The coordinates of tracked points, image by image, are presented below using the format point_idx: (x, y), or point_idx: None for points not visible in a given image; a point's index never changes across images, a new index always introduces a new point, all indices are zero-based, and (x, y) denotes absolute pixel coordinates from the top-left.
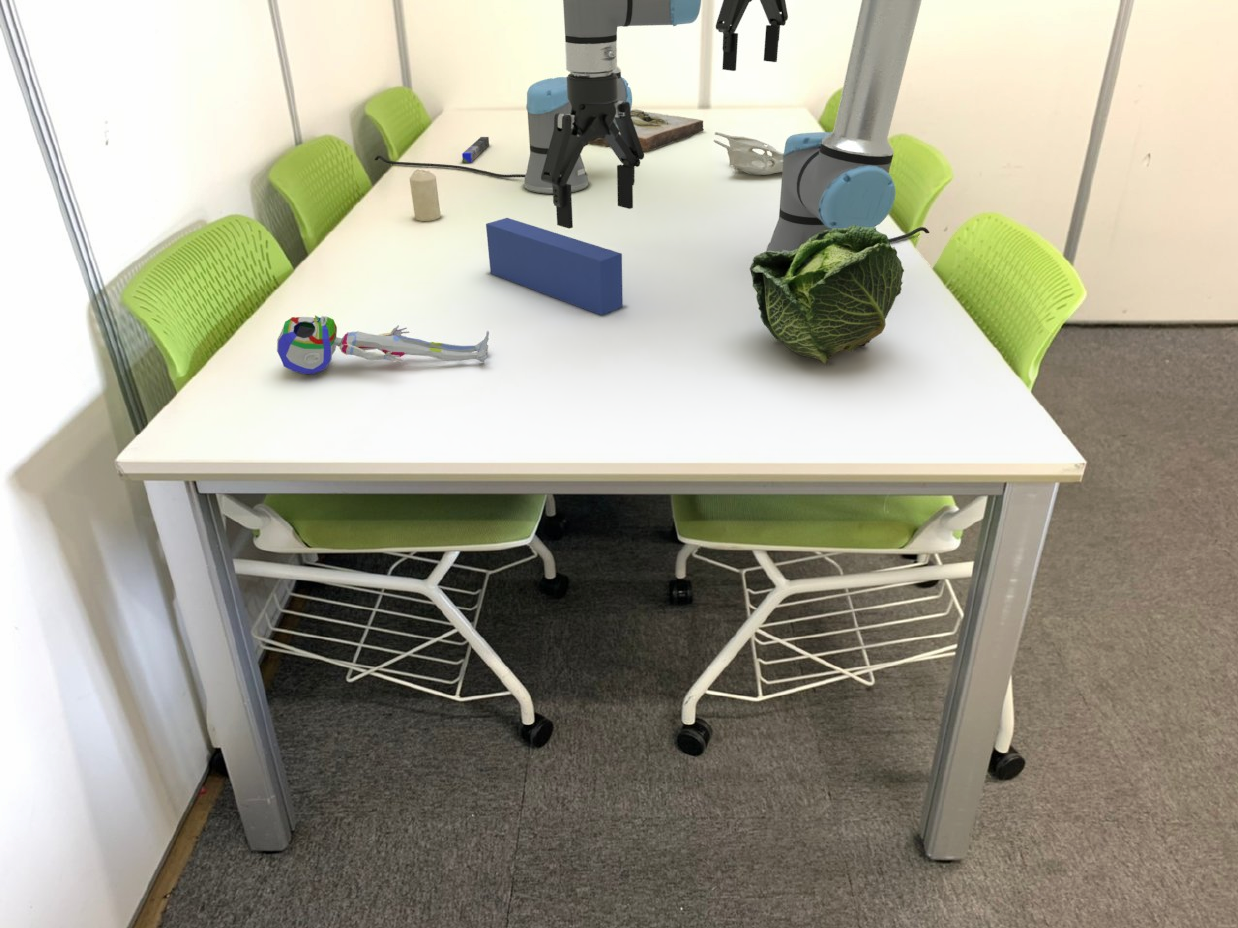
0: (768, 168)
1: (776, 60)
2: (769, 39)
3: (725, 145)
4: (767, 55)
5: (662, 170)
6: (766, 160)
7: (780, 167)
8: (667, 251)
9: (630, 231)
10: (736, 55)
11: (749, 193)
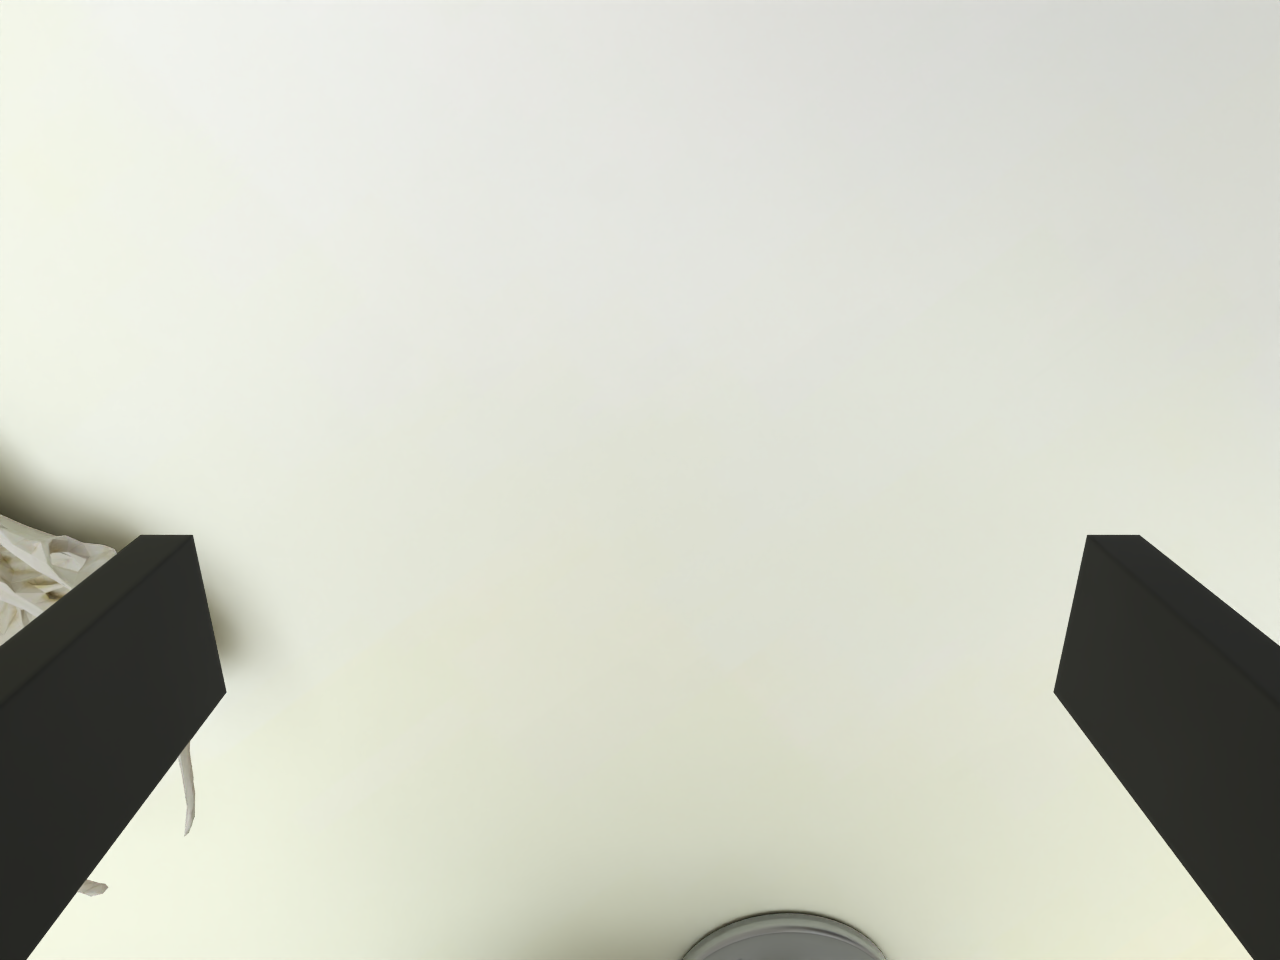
0: (93, 546)
1: (139, 543)
2: (33, 841)
3: (184, 764)
4: (177, 690)
5: (361, 884)
6: (75, 577)
7: (14, 529)
8: (1241, 221)
9: (1087, 497)
10: (1213, 635)
11: (343, 462)
